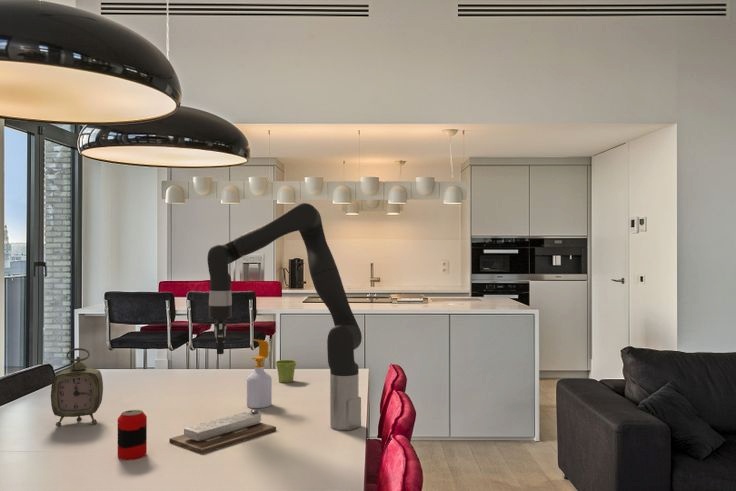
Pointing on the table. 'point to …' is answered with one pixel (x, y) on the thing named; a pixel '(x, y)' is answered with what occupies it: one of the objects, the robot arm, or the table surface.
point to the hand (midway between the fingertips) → (219, 351)
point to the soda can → (132, 435)
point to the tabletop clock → (76, 391)
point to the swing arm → (222, 425)
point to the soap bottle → (259, 381)
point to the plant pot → (286, 370)
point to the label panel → (222, 438)
